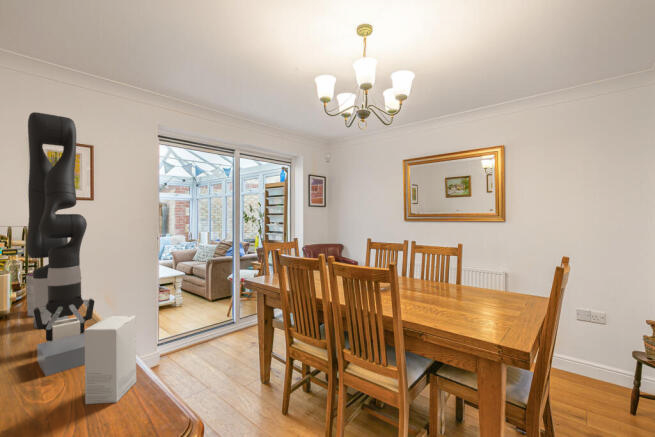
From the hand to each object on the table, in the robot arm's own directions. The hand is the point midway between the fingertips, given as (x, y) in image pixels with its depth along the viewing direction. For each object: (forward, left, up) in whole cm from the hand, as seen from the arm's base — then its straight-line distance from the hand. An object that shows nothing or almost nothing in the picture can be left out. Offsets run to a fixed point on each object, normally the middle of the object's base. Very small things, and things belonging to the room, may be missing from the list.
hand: (65, 338), depth 92 cm
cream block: (0, 0, -1) cm, 1 cm away
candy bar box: (-50, -1, -3) cm, 50 cm away
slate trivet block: (+12, 0, -3) cm, 13 cm away
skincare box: (+39, +4, -3) cm, 40 cm away
